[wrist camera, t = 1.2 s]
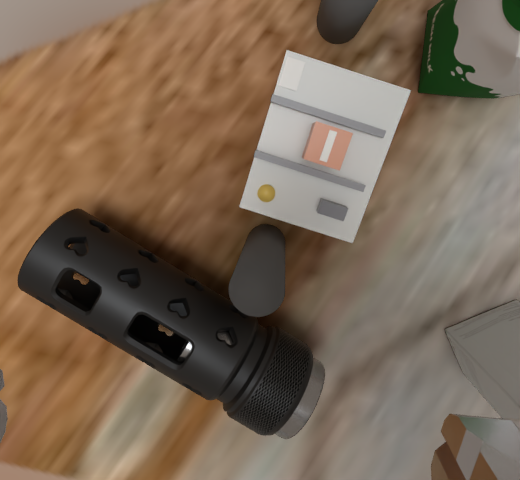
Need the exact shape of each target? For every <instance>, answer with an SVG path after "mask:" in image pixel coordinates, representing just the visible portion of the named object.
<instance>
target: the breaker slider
mask: <svg viewBox="0 0 520 480" xmlns="http://www.w3.org/2000/svg"><path fill="white" fill-rule="evenodd" d="M352 135H353V133H351V132H348V131H345V130H342V129H339V128H336V127H333V126H329V125H326V124H323V123H320V122H317V121H316V122H314V123H313V124H312V127H311V130H310V133H309V136H308V139H307V142H306V146H305V149H304V152H303V155H302V158H303V159H305V160H308V161H311V162H314V163H317V164H320V165H324V166H327V167H330V168H333V169H336V170H339V171H340V169H341V166H342V163H343V160H344V157H345V155H346V152H347V149H348V146H349V143H350V141H351V138H352Z"/></svg>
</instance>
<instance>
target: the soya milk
mask: <svg viewBox="0 0 520 480" xmlns="http://www.w3.org/2000/svg"><path fill="white" fill-rule="evenodd" d="M418 93H428V94H438V95H447V96H458V97H473V98H502V97H508V96H513V95H518V94H520V0H442V1H441V2H439V3H438V4H437V5H435V6H434V7H433V8H431V9H430V10H429V11H428V14H427V23H426V31H425V39H424V47H423V56H422V64H421V72H420V81H419V89H418Z"/></svg>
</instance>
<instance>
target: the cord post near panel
mask: <svg viewBox="0 0 520 480" xmlns="http://www.w3.org/2000/svg"><path fill="white" fill-rule="evenodd" d="M229 296H230V299H231V301H232V303H233V305H234V306H235V307H236V308H237V309H238V310H239V311H241V312H242V313H244V314H246V315H249V316H253V317H262V316H266V315H269V314H271V313H273V312H274V311H276V310H277V309H278V308H279V306H280V305H281V303H282V302H283V299H284V296H285V238H284V235H283V234H282V232H281V231H280V230H279V229H278V228H277V227H275V226H272V225H268V224H264V225H259V226H257V227H255V228H254V229H253V230H252V231H251V232H250V233H249V235H248V238H247V240H246V243H245V245H244V248H243V250H242V253H241V255H240V258H239V260H238V262H237V265H236V267H235V270H234V272H233V275H232V277H231V280H230V283H229Z"/></svg>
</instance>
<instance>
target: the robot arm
mask: <svg viewBox="0 0 520 480" xmlns="http://www.w3.org/2000/svg"><path fill="white" fill-rule="evenodd" d="M3 387H4V380H3V373H2V370H1V369H0V391H1V390H2V388H3ZM6 423H7V407H6V405H5V404H4V403H3V402H2V401H1V400H0V442H1V440H2V438H3V435H4V433H5V430H6ZM441 432H442V434H443V436H444V438H445V440H446V442H445V443H444V444H443V445H441V446H440V447H439V448H438V449H436V450H435V452H434V456H433V460H432V464H431V479H432V480H520V419H507V418H505V419H498V418H488V417H477V416H467V415H457V414H449V415H448V417H447V418H446V419H445V420H444V423H443V426H442V429H441Z"/></svg>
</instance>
